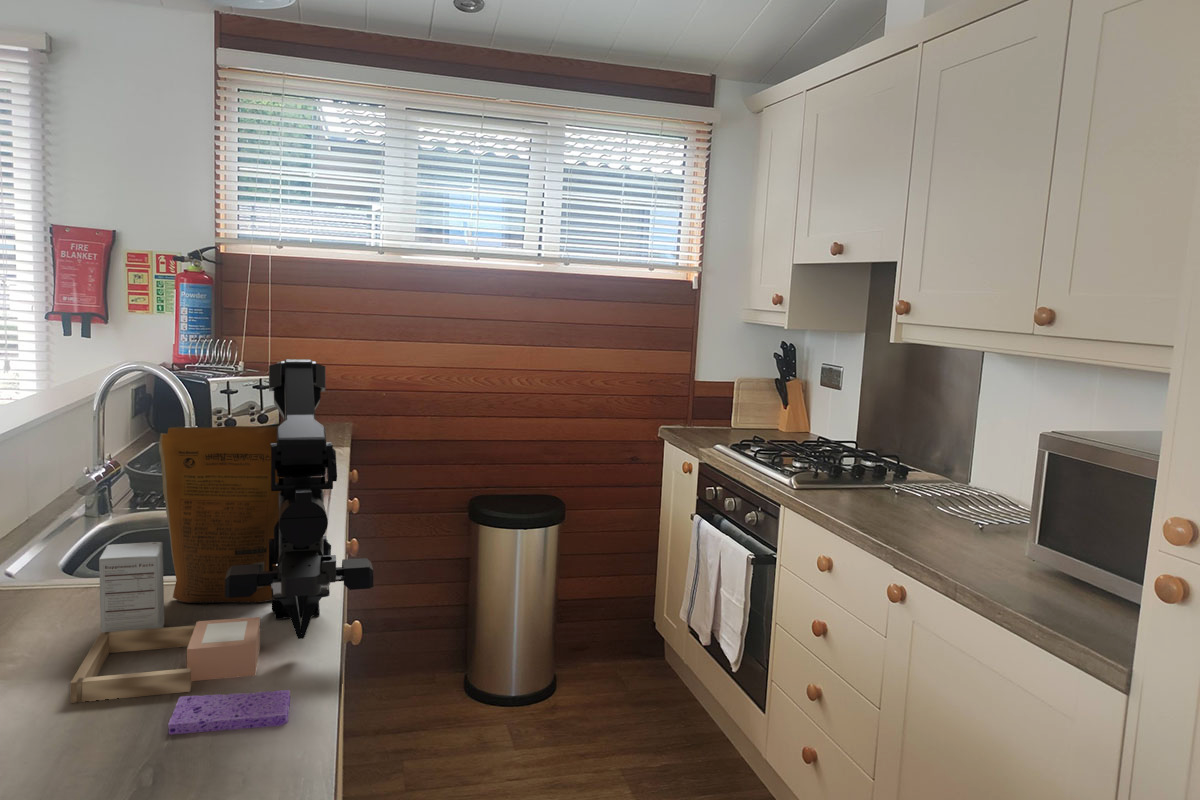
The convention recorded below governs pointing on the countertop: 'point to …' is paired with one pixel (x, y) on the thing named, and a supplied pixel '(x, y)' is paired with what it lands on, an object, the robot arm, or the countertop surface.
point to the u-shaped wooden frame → (132, 684)
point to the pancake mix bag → (218, 506)
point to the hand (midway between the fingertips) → (300, 638)
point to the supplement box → (131, 587)
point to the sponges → (229, 712)
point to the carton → (224, 648)
